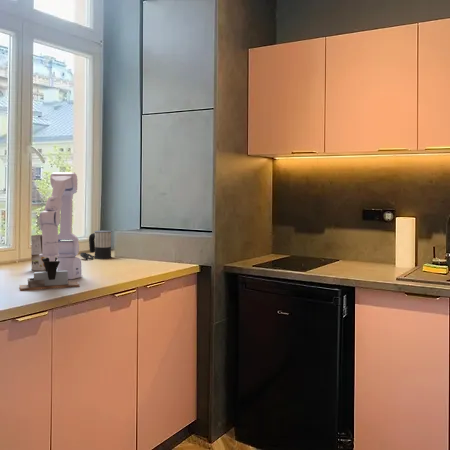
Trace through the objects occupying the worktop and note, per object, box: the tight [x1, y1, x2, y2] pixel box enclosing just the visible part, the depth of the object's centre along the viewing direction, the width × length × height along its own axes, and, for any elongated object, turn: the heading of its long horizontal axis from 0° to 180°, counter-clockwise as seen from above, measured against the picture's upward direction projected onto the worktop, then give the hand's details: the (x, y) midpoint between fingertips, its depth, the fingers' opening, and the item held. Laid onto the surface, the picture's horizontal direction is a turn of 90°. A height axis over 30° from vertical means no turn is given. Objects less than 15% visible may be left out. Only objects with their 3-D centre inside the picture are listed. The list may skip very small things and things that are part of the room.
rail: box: [33, 270, 69, 286], centre depth 199 cm, size 12×3×5 cm, turn 114°
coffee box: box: [30, 234, 47, 272], centre depth 244 cm, size 9×6×16 cm
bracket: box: [19, 277, 80, 292], centre depth 199 cm, size 21×8×3 cm, turn 113°
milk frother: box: [79, 230, 112, 261], centre depth 282 cm, size 14×16×15 cm
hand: (50, 278), depth 199 cm, fingers open, 7 cm apart
